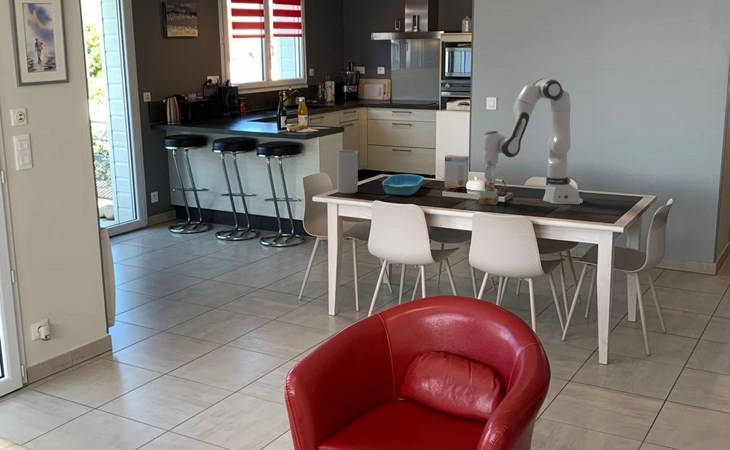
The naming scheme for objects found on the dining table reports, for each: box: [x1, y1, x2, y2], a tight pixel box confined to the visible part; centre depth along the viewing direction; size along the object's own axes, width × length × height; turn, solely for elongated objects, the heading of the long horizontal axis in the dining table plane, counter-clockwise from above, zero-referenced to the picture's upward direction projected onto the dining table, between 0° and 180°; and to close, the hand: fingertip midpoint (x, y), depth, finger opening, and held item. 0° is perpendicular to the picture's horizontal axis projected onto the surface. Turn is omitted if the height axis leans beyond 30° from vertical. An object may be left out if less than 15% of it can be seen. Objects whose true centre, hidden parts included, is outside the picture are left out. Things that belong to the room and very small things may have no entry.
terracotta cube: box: [484, 180, 496, 191], centre depth 462 cm, size 5×5×5 cm
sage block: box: [479, 187, 498, 199], centre depth 464 cm, size 8×8×4 cm
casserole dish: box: [381, 173, 425, 196], centre depth 498 cm, size 37×22×7 cm, turn 164°
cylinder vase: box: [336, 149, 359, 195], centre depth 491 cm, size 12×12×25 cm
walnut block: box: [478, 194, 500, 206], centre depth 464 cm, size 10×10×4 cm
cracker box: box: [443, 154, 470, 190], centre depth 501 cm, size 14×6×21 cm, turn 65°
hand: (489, 183), depth 461 cm, fingers open, 8 cm apart
